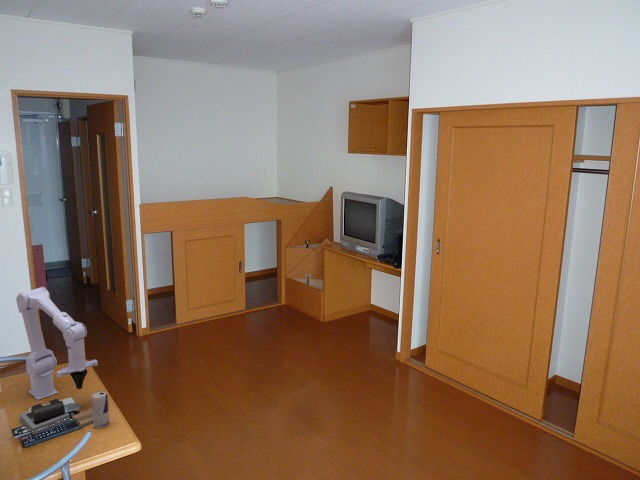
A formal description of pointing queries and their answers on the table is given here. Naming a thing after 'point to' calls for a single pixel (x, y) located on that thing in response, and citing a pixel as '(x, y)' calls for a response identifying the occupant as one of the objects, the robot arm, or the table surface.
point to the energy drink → (100, 409)
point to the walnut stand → (84, 418)
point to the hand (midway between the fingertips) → (79, 387)
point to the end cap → (47, 411)
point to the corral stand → (31, 426)
